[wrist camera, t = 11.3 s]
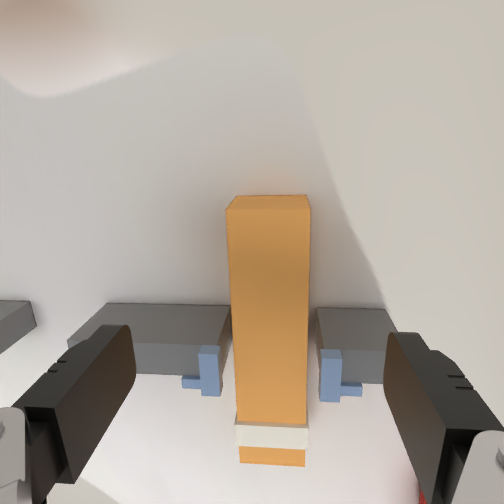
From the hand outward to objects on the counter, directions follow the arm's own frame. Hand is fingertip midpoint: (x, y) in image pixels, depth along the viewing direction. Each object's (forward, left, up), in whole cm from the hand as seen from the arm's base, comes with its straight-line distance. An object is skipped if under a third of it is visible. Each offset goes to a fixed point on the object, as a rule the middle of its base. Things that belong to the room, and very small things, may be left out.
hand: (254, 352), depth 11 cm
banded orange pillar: (0, -5, -11) cm, 12 cm away
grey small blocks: (-7, -5, -11) cm, 14 cm away
